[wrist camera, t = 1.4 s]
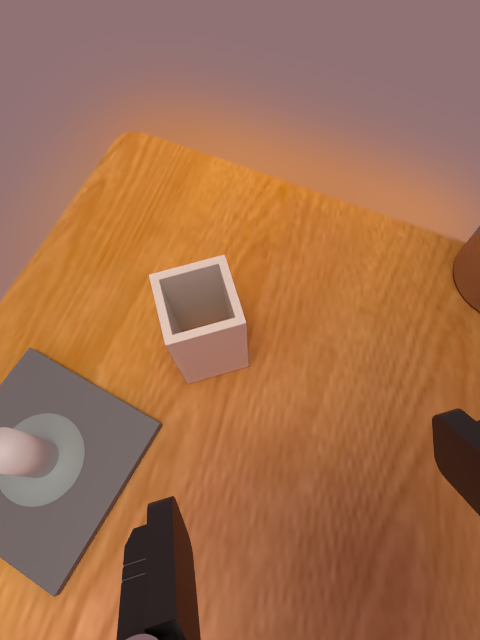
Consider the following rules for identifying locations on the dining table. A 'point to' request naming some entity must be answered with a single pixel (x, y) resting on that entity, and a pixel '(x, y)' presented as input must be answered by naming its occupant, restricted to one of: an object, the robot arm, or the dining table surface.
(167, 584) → the robot arm
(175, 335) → the sleeve
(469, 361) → the dining table surface
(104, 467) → the post plate
